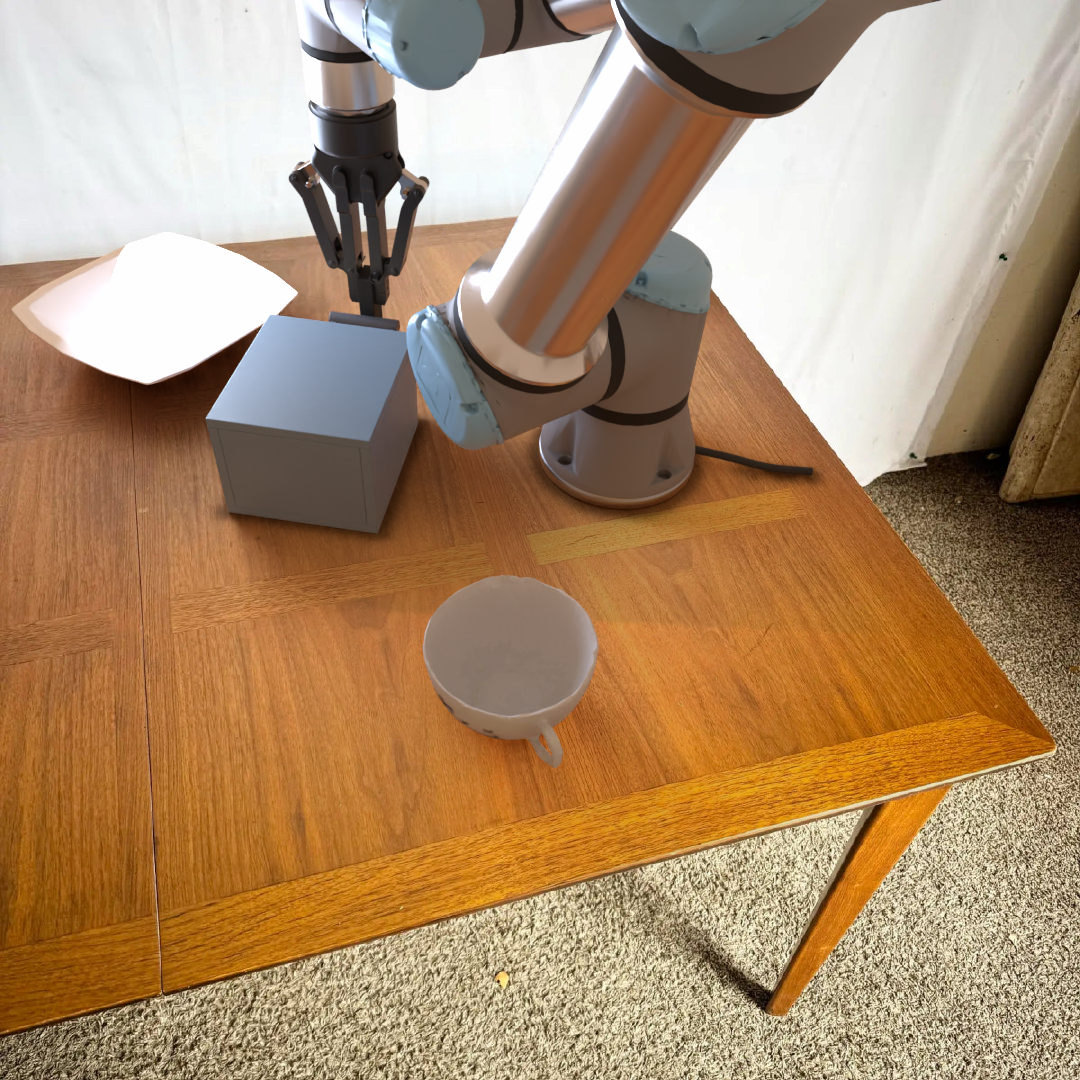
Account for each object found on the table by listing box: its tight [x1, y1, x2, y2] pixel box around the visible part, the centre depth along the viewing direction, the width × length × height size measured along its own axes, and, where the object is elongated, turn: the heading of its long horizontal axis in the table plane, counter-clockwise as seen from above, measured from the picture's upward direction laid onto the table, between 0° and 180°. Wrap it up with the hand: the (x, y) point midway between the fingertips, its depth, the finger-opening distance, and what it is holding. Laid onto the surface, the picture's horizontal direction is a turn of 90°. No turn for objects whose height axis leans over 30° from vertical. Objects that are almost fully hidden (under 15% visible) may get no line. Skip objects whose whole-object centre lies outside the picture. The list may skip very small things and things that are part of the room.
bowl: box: [11, 231, 299, 386], centre depth 101 cm, size 22×23×6 cm
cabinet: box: [205, 314, 419, 534], centre depth 88 cm, size 16×14×11 cm
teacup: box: [422, 574, 600, 769], centre depth 71 cm, size 15×12×8 cm
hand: (372, 327), depth 100 cm, fingers closed
